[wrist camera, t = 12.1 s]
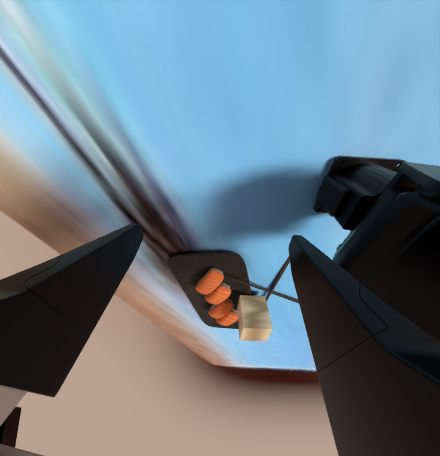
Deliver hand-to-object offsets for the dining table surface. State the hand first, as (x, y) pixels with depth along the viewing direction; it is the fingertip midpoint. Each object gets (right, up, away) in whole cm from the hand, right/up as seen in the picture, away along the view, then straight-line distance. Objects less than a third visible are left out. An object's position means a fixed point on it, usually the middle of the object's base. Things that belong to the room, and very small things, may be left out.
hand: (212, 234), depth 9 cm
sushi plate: (+8, -14, +25) cm, 30 cm away
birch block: (+7, -15, +24) cm, 29 cm away
